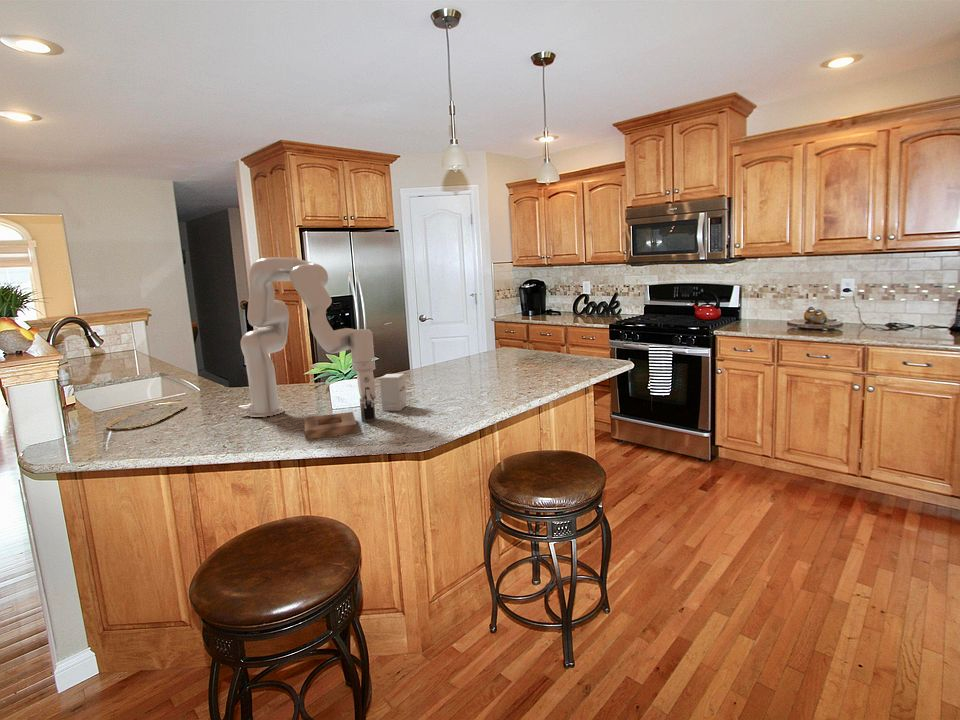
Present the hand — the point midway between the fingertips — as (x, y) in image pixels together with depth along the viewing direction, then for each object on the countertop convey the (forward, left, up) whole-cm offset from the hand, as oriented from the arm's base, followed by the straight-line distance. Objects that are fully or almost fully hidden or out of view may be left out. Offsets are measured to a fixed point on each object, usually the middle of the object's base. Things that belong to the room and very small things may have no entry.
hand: (368, 415), depth 185 cm
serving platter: (-78, +46, -2) cm, 91 cm away
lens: (0, 0, -2) cm, 2 cm away
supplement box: (+11, +12, -2) cm, 16 cm away
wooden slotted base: (-13, -5, -2) cm, 14 cm away
